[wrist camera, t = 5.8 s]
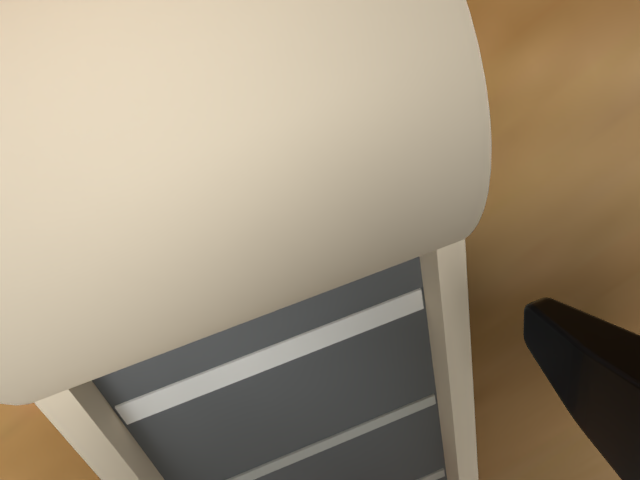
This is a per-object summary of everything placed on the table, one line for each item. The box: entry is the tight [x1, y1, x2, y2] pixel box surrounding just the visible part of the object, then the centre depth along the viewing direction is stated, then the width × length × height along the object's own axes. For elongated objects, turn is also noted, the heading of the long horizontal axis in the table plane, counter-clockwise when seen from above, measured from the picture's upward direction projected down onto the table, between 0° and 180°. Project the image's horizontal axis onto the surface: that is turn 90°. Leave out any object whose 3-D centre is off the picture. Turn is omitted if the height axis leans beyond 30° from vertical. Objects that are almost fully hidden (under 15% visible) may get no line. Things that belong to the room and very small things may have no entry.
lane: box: [0, 0, 492, 480], centre depth 17 cm, size 11×26×8 cm, turn 12°
